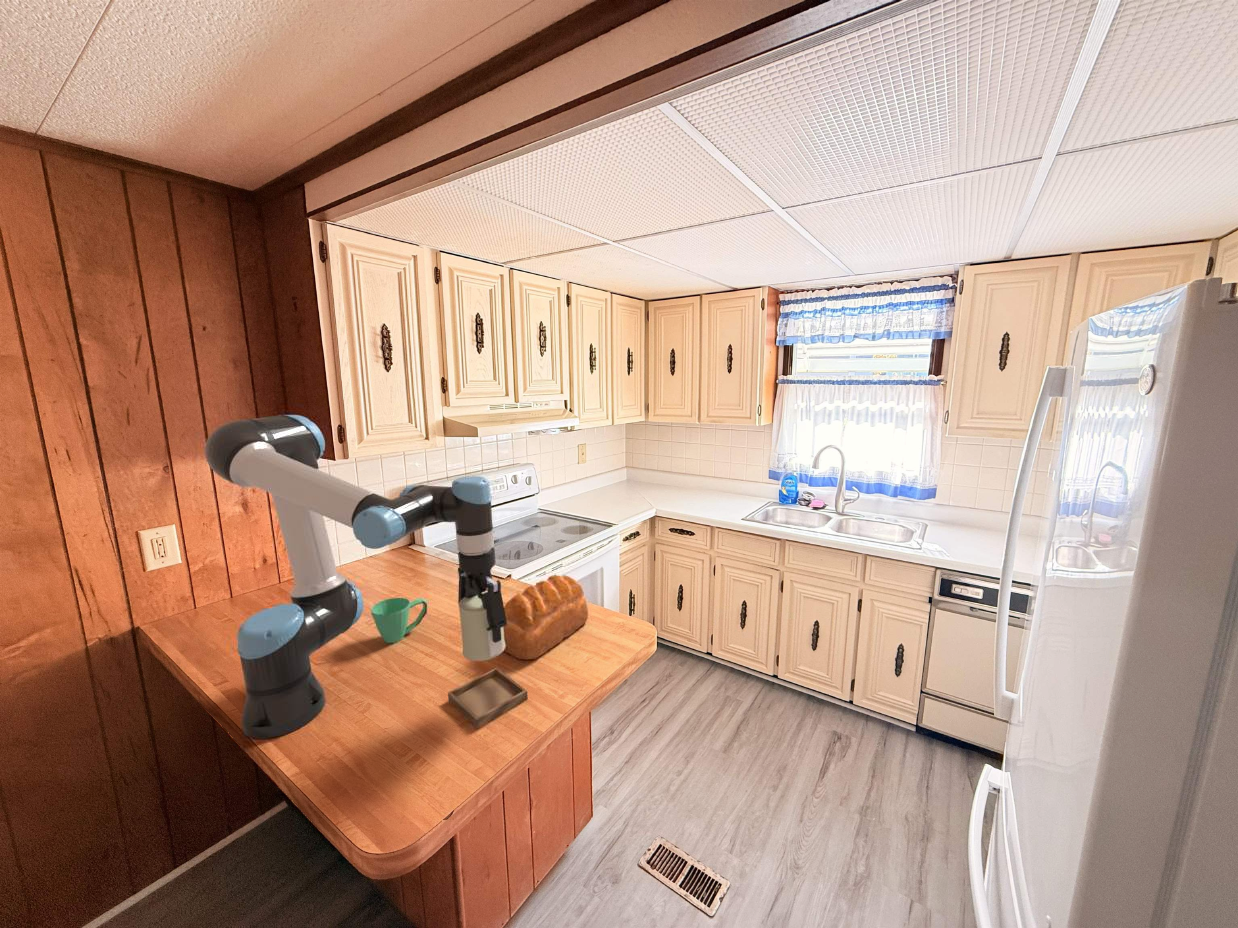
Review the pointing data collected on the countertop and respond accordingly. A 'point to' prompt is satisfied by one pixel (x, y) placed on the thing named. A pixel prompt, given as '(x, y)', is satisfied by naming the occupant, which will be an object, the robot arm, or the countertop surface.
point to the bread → (543, 616)
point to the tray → (487, 697)
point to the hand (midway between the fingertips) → (484, 644)
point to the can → (475, 629)
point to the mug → (396, 617)
